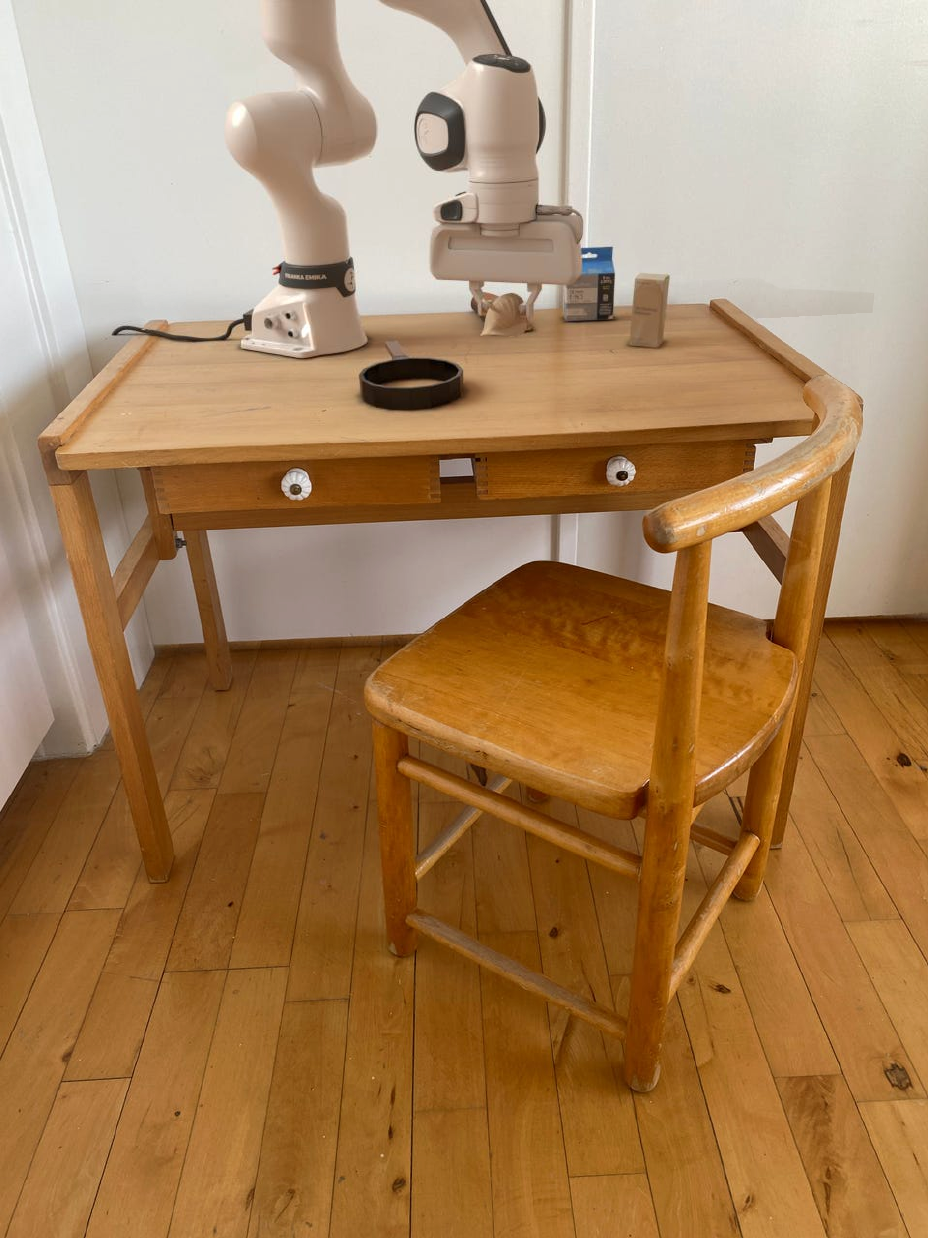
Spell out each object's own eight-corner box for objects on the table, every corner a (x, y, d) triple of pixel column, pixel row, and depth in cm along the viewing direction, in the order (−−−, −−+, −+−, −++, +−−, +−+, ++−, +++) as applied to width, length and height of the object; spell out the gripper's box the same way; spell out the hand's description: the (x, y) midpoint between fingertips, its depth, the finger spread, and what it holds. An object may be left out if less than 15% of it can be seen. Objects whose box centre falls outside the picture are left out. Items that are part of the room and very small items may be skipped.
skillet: (473, 403, 133) (473, 381, 132) (369, 414, 131) (367, 392, 129) (436, 355, 155) (435, 336, 153) (346, 364, 152) (344, 345, 150)
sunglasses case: (535, 328, 165) (517, 296, 162) (503, 351, 166) (484, 320, 163) (512, 305, 181) (494, 276, 177) (482, 326, 182) (464, 298, 178)
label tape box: (565, 322, 170) (567, 251, 164) (563, 316, 174) (564, 247, 167) (613, 320, 170) (616, 249, 164) (610, 315, 174) (613, 245, 167)
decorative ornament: (535, 330, 126) (536, 289, 123) (491, 343, 121) (490, 301, 118) (515, 325, 128) (514, 286, 126) (470, 338, 124) (469, 296, 121)
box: (628, 345, 156) (632, 277, 150) (634, 339, 159) (638, 272, 153) (659, 348, 154) (665, 278, 148) (664, 341, 157) (670, 273, 151)
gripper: (590, 201, 116) (586, 314, 123) (440, 199, 122) (445, 307, 130) (576, 208, 111) (574, 326, 118) (421, 206, 117) (427, 317, 125)
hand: (505, 316), depth 124 cm, fingers closed on decorative ornament, 4 cm apart
